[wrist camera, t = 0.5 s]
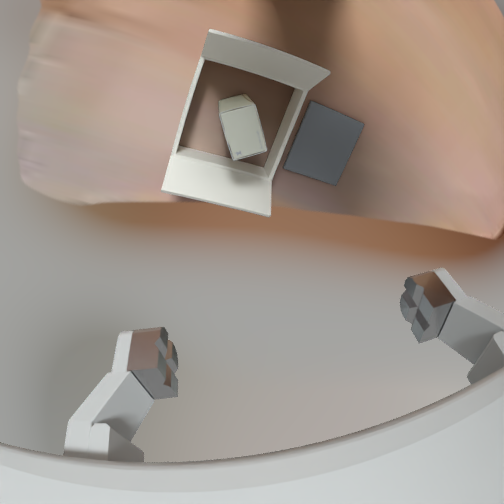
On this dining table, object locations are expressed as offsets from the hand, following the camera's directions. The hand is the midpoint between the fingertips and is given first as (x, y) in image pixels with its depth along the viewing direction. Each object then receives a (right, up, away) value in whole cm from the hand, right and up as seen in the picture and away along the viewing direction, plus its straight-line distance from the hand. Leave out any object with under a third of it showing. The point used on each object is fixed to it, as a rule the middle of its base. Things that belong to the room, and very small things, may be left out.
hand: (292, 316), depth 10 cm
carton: (-4, +22, +33) cm, 40 cm away
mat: (+10, +19, +38) cm, 44 cm away
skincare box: (-4, +23, +34) cm, 41 cm away
